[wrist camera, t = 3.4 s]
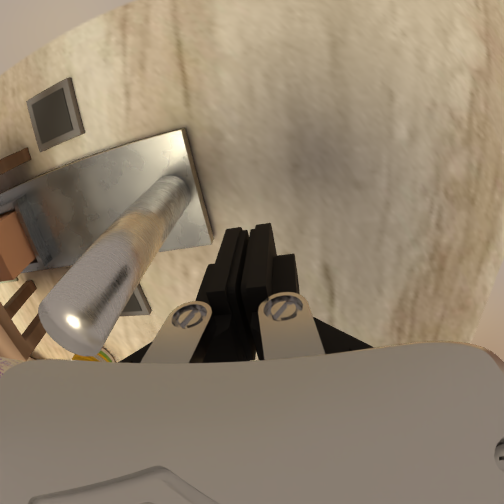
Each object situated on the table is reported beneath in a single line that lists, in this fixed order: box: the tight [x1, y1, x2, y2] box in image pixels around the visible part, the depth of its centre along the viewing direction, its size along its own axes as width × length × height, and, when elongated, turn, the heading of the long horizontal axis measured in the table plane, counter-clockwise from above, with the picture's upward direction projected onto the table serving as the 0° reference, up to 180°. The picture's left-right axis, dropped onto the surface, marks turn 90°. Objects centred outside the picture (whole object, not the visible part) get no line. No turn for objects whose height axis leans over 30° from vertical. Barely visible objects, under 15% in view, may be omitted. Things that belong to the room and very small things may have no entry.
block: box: [0, 209, 36, 282], centre depth 23 cm, size 5×5×5 cm
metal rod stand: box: [0, 128, 214, 356], centre depth 19 cm, size 24×9×15 cm, turn 101°
